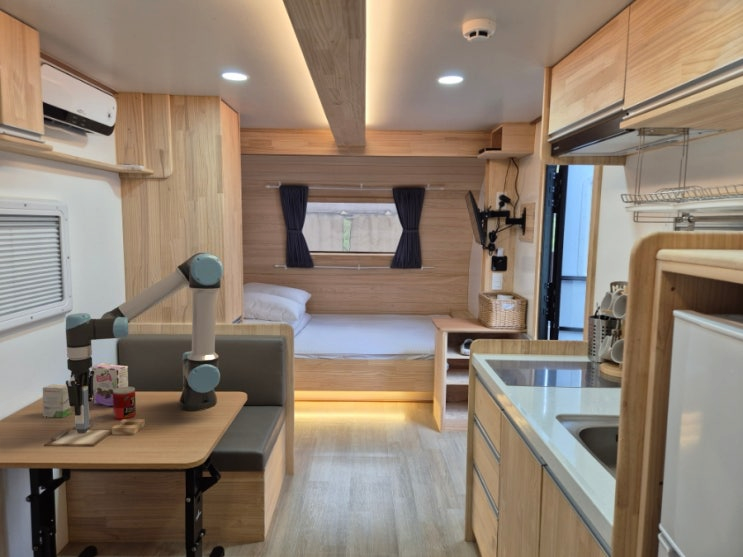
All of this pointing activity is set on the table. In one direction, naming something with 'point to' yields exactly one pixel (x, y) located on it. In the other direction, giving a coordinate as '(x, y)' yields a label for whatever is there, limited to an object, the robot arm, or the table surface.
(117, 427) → the pen stand
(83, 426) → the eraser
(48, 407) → the ink box
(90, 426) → the plate
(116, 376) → the candy box
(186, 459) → the table surface
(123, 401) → the canned food
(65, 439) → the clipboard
